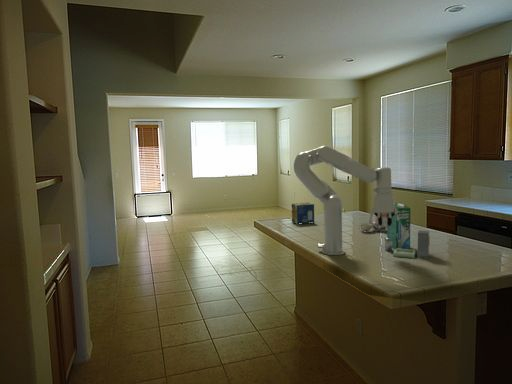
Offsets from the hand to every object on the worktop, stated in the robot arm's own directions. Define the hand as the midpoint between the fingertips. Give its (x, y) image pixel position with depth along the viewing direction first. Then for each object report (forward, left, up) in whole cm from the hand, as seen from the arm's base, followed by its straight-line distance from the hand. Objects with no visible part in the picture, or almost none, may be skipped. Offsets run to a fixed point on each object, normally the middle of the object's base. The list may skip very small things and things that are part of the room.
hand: (385, 224), depth 202 cm
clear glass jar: (+1, +8, -16) cm, 18 cm away
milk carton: (+5, +19, -16) cm, 26 cm away
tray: (+10, +1, -16) cm, 19 cm away
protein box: (-73, +76, -16) cm, 107 cm away
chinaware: (-12, +60, -16) cm, 64 cm away
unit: (+19, +2, -16) cm, 25 cm away
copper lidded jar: (0, 0, -1) cm, 1 cm away
